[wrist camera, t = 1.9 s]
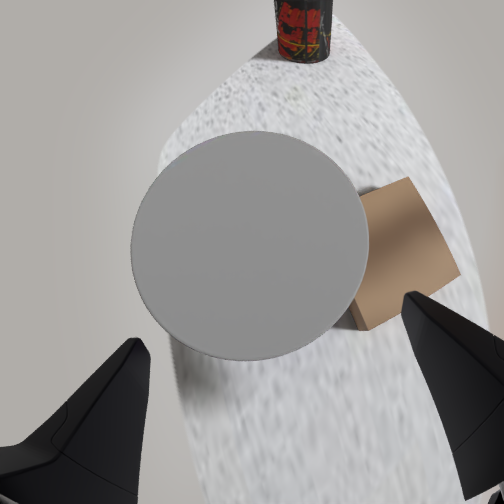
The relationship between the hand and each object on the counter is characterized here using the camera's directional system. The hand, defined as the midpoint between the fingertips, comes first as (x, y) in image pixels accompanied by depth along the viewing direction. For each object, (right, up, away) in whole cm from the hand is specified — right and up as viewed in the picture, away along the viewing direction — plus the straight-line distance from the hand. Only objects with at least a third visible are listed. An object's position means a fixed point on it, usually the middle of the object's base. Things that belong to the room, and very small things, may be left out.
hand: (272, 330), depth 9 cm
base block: (+9, +2, +10) cm, 14 cm away
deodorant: (+5, +26, +18) cm, 32 cm away
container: (+1, -1, +11) cm, 11 cm away
